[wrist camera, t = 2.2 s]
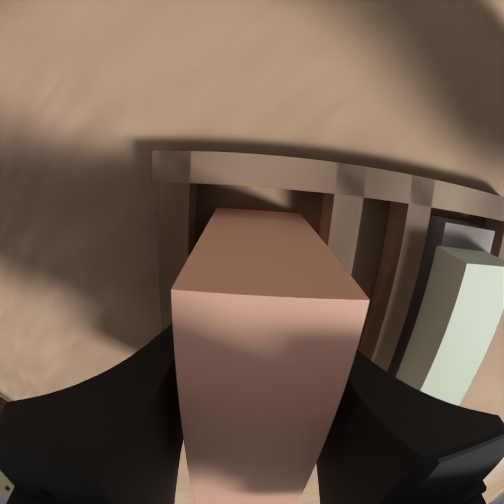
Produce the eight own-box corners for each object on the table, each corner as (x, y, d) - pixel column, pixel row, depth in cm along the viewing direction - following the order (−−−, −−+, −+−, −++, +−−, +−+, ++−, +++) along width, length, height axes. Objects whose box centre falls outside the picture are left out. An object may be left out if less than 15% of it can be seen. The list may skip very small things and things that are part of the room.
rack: (501, 196, 11) (521, 202, 9) (435, 398, 14) (445, 413, 13) (165, 150, 10) (152, 150, 9) (174, 405, 14) (168, 426, 13)
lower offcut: (468, 220, 12) (495, 231, 10) (419, 377, 14) (433, 399, 13) (420, 211, 12) (446, 222, 10) (373, 381, 14) (385, 406, 12)
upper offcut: (486, 251, 10) (516, 267, 8) (438, 385, 12) (455, 410, 10) (436, 245, 10) (467, 263, 8) (389, 391, 12) (404, 421, 10)
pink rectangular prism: (300, 213, 11) (369, 300, 4) (277, 383, 14) (291, 514, 7) (217, 207, 11) (170, 289, 4) (213, 380, 13) (196, 512, 7)
